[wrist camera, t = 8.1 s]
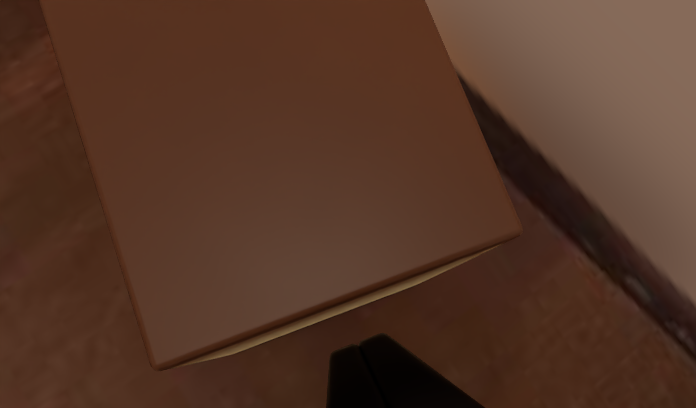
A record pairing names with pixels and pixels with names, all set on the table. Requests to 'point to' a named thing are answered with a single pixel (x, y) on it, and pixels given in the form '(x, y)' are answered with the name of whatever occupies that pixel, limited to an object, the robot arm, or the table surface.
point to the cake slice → (273, 160)
